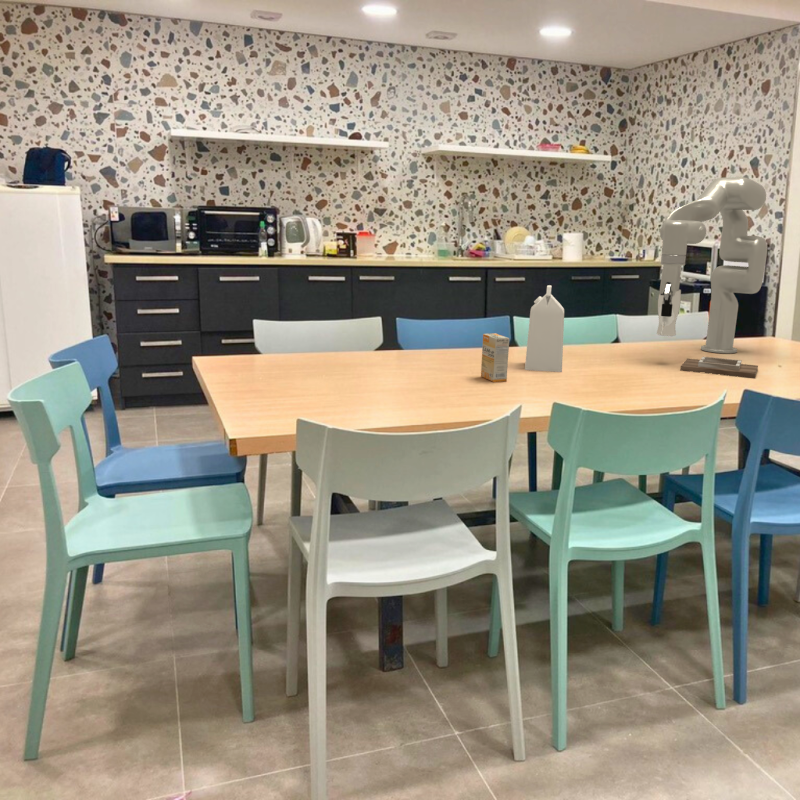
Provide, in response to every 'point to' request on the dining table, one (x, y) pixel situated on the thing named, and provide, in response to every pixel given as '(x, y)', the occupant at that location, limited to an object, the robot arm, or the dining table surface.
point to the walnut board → (720, 367)
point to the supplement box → (495, 357)
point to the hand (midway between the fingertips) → (668, 314)
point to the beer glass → (668, 323)
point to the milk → (545, 334)
